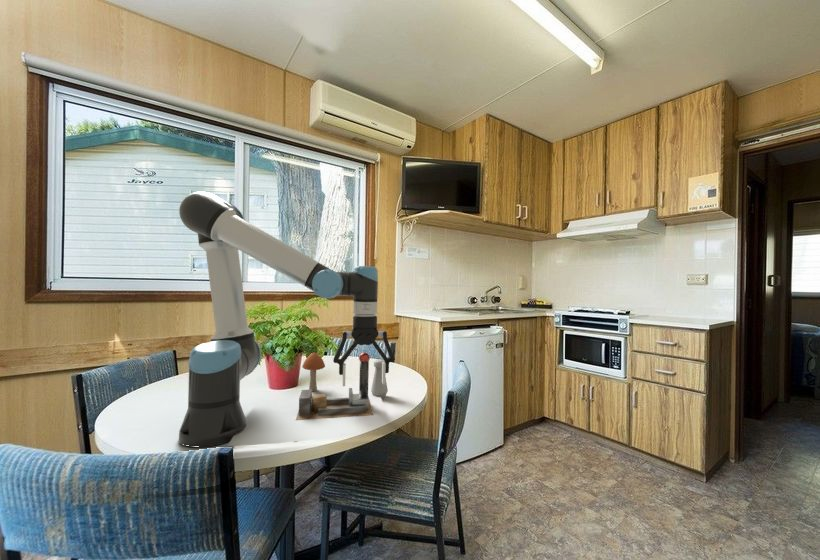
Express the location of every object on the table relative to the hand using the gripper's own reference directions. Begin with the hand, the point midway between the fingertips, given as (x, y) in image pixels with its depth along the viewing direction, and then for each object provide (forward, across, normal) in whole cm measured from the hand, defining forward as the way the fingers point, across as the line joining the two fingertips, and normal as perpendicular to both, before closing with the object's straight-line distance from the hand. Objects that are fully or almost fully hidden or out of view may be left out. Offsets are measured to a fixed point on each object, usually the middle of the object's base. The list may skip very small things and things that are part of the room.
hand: (363, 384), depth 106 cm
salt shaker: (+9, +6, +12) cm, 16 cm away
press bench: (+8, -8, 0) cm, 12 cm away
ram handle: (+7, -1, 0) cm, 7 cm away
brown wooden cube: (+7, -14, 0) cm, 15 cm away
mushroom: (+9, -16, +19) cm, 27 cm away
